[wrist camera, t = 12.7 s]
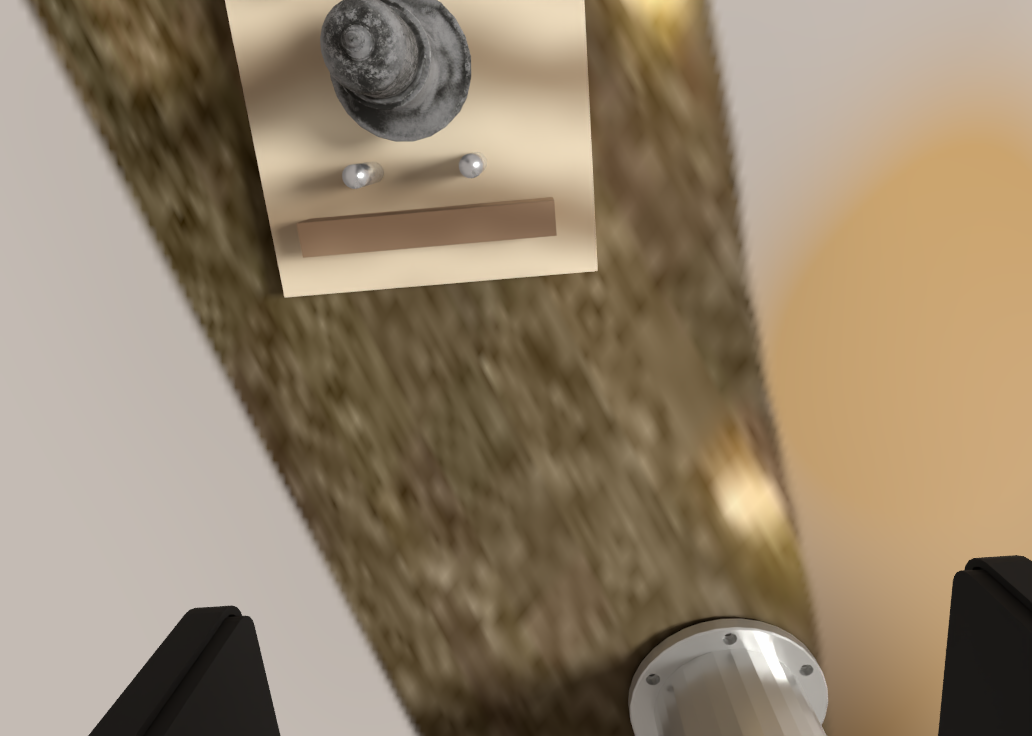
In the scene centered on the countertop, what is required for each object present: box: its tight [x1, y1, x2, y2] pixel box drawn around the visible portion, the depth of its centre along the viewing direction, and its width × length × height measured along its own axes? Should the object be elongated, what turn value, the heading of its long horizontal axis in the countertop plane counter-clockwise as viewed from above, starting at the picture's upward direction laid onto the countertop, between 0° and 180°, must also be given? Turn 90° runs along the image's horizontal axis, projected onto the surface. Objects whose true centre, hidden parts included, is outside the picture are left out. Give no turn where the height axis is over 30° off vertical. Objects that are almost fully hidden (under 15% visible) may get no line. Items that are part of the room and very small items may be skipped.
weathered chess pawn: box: [320, 0, 471, 142], centre depth 25 cm, size 6×6×12 cm
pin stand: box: [225, 0, 598, 297], centre depth 30 cm, size 20×16×6 cm
